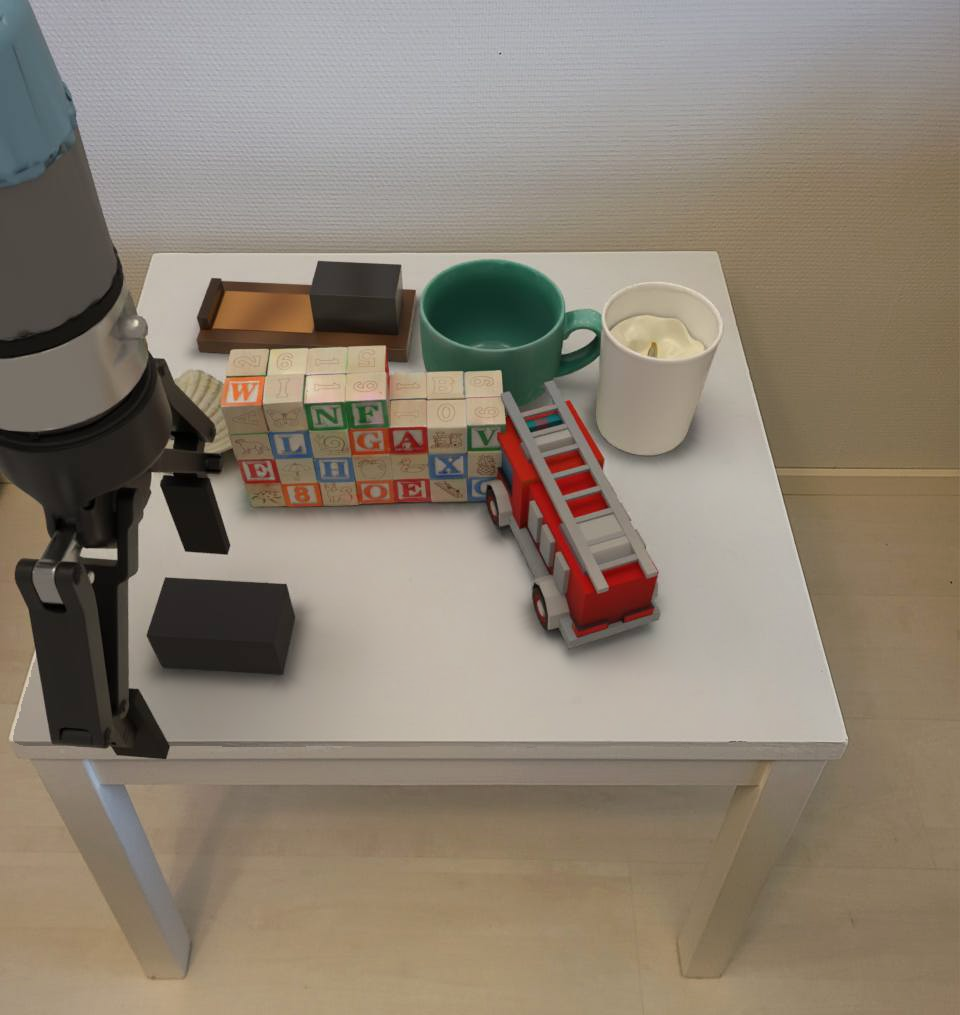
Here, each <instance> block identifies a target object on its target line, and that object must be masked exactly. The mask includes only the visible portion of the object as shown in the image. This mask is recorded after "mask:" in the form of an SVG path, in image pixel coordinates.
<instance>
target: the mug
mask: <svg viewBox="0 0 960 1015" xmlns="http://www.w3.org/2000/svg"><path fill="white" fill-rule="evenodd" d="M418 311H419V313H418V314H419V332H420V333H419V334H420V346H421V355H422V360H423V365H424V369H425V373H428V372H447V371H463V372H464V373H465V372H468V371H495V370H500V371H501V373H502V386H503V393H505V392H509V391H510V393H511V395H512V397H513V399H514V401H515V403H516V405H517V407H518V409H519V408H523V407H524V406H527V405H528V404H531V403H532V402H534V401H536V400H537V399H539V397H541V396H542V395H543V394H544V393H545V392H547V391H546V389H545V387H544V382H548V381H552V380H553V381H554V380H555V379H556V378H561V377H565V376H568V375H571V374H574V373H577V372H578V371H580V370H582V369H584V368H586V367H587V366H589V365H590V364H592V363H593V362H595V361H596V359H598V358H600V343H601V328H602V323H601V315H602V313H600V312H599V311H597V310H595V309H591V308H579V309H575V310H574V309H573V310H570V311H567V312H566V300H565V297H564V295H563V293H562V290H560V288H559V287H558V285H557V284H556V283H555V282H554V281H553V280H552V279H551V278H550V277H549V276H547V275H546V274H544V273H543V272H541V271H540V270H538V269H536V268H534V267H532V266H529V265H527V264H523V263H521V262H517V261H513V260H507V259H499V258H498V259H497V258H482V259H481V258H480V259H474V260H468V261H464V262H460V263H456V264H454V265H451V266H450V267H447V268H446V269H443V270H442V271H440V272H439V273H438V274H436V275H435V276H434V277H432V278H431V279H430V281H429V282H428V283H426V285H425V287H424V288H423V290H422V292H421V294H420V299H419V310H418ZM578 330H588V331H591V332H592V333H594V334H595V336H594V338H593V339H592V340H591V341H589V343H587V344H585V345H584V346H583V347H581V348H579V349H577V350H574V351H571V352H567V353H562V351H563V346H564V341H567V340H568V339H569V337H570V336H571V334H572V333H573V332H576V331H578ZM504 407H505V406H504ZM505 412H507V410H506V408H505Z"/></svg>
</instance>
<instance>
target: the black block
mask: <svg viewBox="0 0 960 1015" xmlns="http://www.w3.org/2000/svg"><path fill="white" fill-rule="evenodd" d="M295 620H296V615H295V610H294V607H293V603H292V599H291V596H290V592H289V588H288V584H287V583H275V582H259V581H239V580H223V579H222V580H221V579H203V578H186V577H185V578H184V577H167V576H166V577H164V579H163V582H162V585H161V589H160V592H159V596H158V598H157V601H156V603H155V608H154V611H153V614H152V617H151V620H150V623H149V625H148V629H147V633H146V634H145V636H146V638H147V640H148V642H149V644H150V646H151V649H152V650H153V652H154V654H155V656H156V658H157V661H158V663H159V664H160V666H161V668H165V669H166V668H167V669H180V670H181V669H183V670H200V671H216V672H217V671H218V672H234V673H235V672H237V673H249V674H250V673H252V674H266V675H267V674H271V675H284V672H285V668H286V662H287V658H288V652H289V648H290V643H291V638H292V633H293V629H294V625H295Z"/></svg>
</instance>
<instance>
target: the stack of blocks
mask: <svg viewBox="0 0 960 1015" xmlns="http://www.w3.org/2000/svg"><path fill="white" fill-rule="evenodd" d="M223 384H224V388H223V394H222V399H221V410H222V413H223V416H224V419H225V422H226V426H227V429H228V435H229V438H230V441H231V445H232V447H233V448H232V450H233V455H234V457H235V458H236V463H237V465H238V468H239V471H240V474H241V478H242V480H243V482H244V488H245V491H246V494H247V498H248V501H249V504H250V507H252V508H260V507H263V508H264V507H290V508H291V507H292V508H293V507H296V508H297V507H322V506H325V507H332V506H333V507H335V506H339V507H340V506H358V505H360V504H363V505H367V504H393V503H416V502H418V503H419V502H421V503H422V502H431V503H443V502H444V503H445V502H446V503H450V502H451V503H452V502H453V503H454V502H467V501H468V502H484V501H486V491H485V489H486V483H487V481H490V480H494V479H497V467H501V466H502V451H501V446H500V444H499V442H498V440H497V432H500V433H506V419H505V417H506V411H505V407H504V404H503V402H502V400H501V395H500V394H501V393H503V386H502V373H501V371H500V370H495V371H468V372H465V373H464V372H463V371H447V372H428V373H427V372H426V371H420V372H419V371H416V372H413V371H412V372H396V373H391V374H390V368H389V361H388V358H387V349H386V346H354V347H331V348H312V349H308V348H298V349H272V350H269V349H234V350H231V351H230V353H229V358H228V362H227V367H226V373H225V379H224V382H223ZM486 502H487V501H486Z"/></svg>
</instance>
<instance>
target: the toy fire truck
mask: <svg viewBox="0 0 960 1015" xmlns="http://www.w3.org/2000/svg"><path fill="white" fill-rule="evenodd" d="M544 387H545V389H546V391H545V392H546V393H547V395H548V396H549V398H550V400H551V402H552V404H549V405H545V406H541V407H537V408H533V409H530V410H525V411H522V412H521V410H520V409H519V408H518V407H517V405H516V403H515V401H514V399H513V397H512V395H511V393H510V391H509V392H505V393H501V394H500V395H501V400H502V402H503V404H504V406H505V408H506V410H507V411H506V412H507V414H508V415H505V419H506V433H500V432H497V440H498V442H499V444H500V446H501V451H502V466H501V467H497V479H494V480H490V481H487V483H486V489H485V491H486V506H487V509H488V510H487V511H488V514H489V516H490V518H491V521H492V523H493V525H494V526H495V527H496V528H497V529H501V528H504V527H508V526H509V527H510V530H511V531H512V534H513V536H514V538H515V540H516V543H517V544H518V546H519V548H520V550H521V552H522V555H523V556H524V559H525V561H526V563H527V564H528V567H529V569H530V571H531V573H532V576H533V579H532V583H531V587H530V589H531V591H532V592H531V599H532V604H533V608H534V611H535V614H536V617H537V618H538V621H539V624H540V625H541V626H542V627H543V629H544V630H545V631H546V630H548V631H550V630H555V629H559V631H560V634H561V635H562V638H563V640H564V642H565V644H566V646H567V648H568V649H572V648H575V647H578V646H581V645H584V644H585V645H586V644H588V643H590V642H593V641H597V640H600V639H603V638H607V637H609V636H613V635H616V634H619V633H621V632H625V631H628V630H631V629H634V628H638V627H642V626H644V625H646V624H650V623H654V622H656V621H659V620H660V617H661V613H662V612H661V611H660V609H659V606H658V605H657V603H656V602H655V599H654V598H656V597H658V594H659V590H658V589H659V583H658V577H659V572H660V570H658V568H657V566H656V565H655V563H654V560H653V559H652V558H651V556H650V554H649V552H648V551H647V546H648V545H647V544H646V543H645V541H644V539H643V537H642V536H641V534H640V532H639V531H638V529H637V528H635V527H634V526H633V523H632V522H631V521H632V520H631V517H630V515H629V513H628V512H627V510H626V508H625V506H624V505H623V503H622V502H620V500H619V498H618V494H617V493H616V491H615V489H614V487H613V486H612V484H611V482H610V481H609V479H608V478H607V476H606V474H605V472H604V466H605V465H604V464H605V457H604V455H603V454H602V452H601V450H600V449H599V447H598V445H597V443H596V442H595V440H594V439H593V437H592V435H591V433H590V432H589V430H588V429H587V426H586V425H585V423H584V422H583V420H582V418H581V417H580V414H579V413H578V411H577V410H576V408H575V406H574V404H573V403H572V402H571V400H570V399H568V400H565V399H564V397H563V396H562V394H561V391H560V389H559V388H558V386H557V385H556V382H555V381H554V379H553V380H552V381H548V382H544Z"/></svg>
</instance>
